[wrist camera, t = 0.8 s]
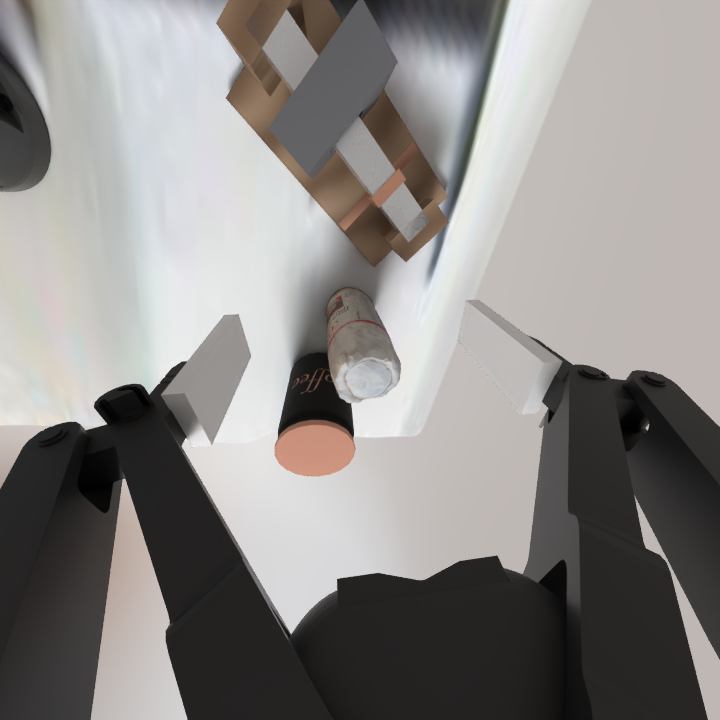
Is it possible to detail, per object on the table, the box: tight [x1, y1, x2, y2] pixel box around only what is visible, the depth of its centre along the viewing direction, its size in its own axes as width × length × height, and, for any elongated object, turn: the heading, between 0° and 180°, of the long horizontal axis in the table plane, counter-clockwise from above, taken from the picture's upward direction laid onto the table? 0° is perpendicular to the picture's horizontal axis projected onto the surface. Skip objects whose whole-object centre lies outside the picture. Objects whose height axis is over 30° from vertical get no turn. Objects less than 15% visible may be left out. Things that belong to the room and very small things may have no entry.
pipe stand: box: [217, 0, 449, 267], centre depth 28 cm, size 24×13×10 cm, turn 43°
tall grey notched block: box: [268, 0, 398, 179], centre depth 24 cm, size 4×10×10 cm, turn 133°
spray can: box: [326, 288, 401, 403], centre depth 35 cm, size 8×8×20 cm
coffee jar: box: [275, 353, 355, 476], centre depth 42 cm, size 11×11×18 cm
